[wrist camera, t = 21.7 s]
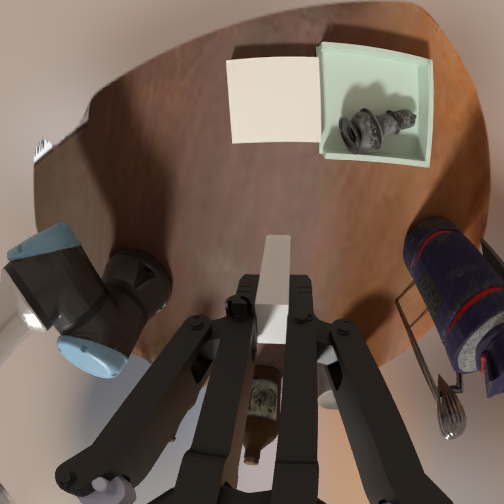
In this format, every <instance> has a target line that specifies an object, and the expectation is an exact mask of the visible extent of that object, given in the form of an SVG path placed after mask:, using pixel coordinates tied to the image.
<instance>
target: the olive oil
mask: <svg viewBox="0 0 504 504" xmlns="http://www.w3.org/2000/svg"><path fill="white" fill-rule="evenodd" d="M280 395H281V374H280V372H279V371H277V370H276V369H274V368H271V367H268V366H255V367H254V374H253V381H252V387H251V394H250V400H249V406H248V413H247V419H246V425H245V431H244V437H243V443H242V444H243V446H244V447H245V455H244V458H245V460H244V463H245V464H248V465H258V463H259V461H258V460H259V459H260V451H261V450H262V449H263V448H264V447H265V446H267V445H268V444H270V443H271V442H272V441H273V440H274V439H275V438H276V437H277V435H278V432H279V423H280V398H281V396H280Z"/></svg>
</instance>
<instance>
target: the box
mask: <svg viewBox="0 0 504 504" xmlns="http://www.w3.org/2000/svg"><path fill="white" fill-rule="evenodd" d="M316 56H317V57H319V73H320V96H321V142H319V153H320V154H323V156H324V157H325V159H342V160H359V161H373V162H385V163H395V164H404V165H413V166H421V167H428V168H429V165H430V156H431V145H432V131H433V64H432V60H430V59H426V58H422V57H419V56H415V55H410V54H406V53H402V52H397V51H392V50H387V49H381V48H375V47H368V46H361V45H353V44H344V43H332V42H322V43H321V44H320V46H319V47H316ZM362 108H366V109H369V110H370V111H371V112H372V113H373V114H374V115H381V114H385V113H386V111H388V110H391V111H393V112H394V111H398V110H402V109H408V110H410V111H411V112H412V113H413V114H415V115H417V117H416V119H415V125H414V126H413V127H411V128H408V129H404V130H401V131H400V133H399V134H394V133H393V134H389V135H386V136H385V137H383V146H382V147H381V149H378V150H377V149H367V148H364V147H362V146H360V151H359V153H358V154H357V155H354V154H352V153H351V152H350V151H349V150H348V148H347V147H346V145H345V143H344V141H343V139H342V136H341V134H340V130H339V118H340V117H346V118H347V119H348V120H350V121H351V119H352V117H353V116H354V115H355V114H356V113H357V112H360V110H361V109H362Z"/></svg>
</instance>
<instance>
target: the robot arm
mask: <svg viewBox="0 0 504 504" xmlns="http://www.w3.org/2000/svg"><path fill="white" fill-rule="evenodd" d="M7 257H8V260H9V261H10V262H9V263H8V264H7V265H6V266H5V267H4V268H3V269H2V273H1V281H0V367H1V366H2V365H3V363H4V362H5V361H6V360H7V359H8V358H9V357H10V355H11V354H12V353H13V352H14V351H15V350H16V349H17V348H18V346H19V345H20V344H21V343H22V342H23V341H24V340H25V339H26V338H27V337H28V336H29V335H30V334H31V333H32V332H33V331H41V332H46V331H48V330H49V329H50V327H51V326H52V325H53V326H54V327H55V328H56V329H57V331H58V332H59V333H60V335H61V336H59V337H58V341H57V347H58V349H59V351H60V352H61V354H62V355H64V357H65V358H66V359H67V360H69V361H70V362H71V363H72V364H74V365H75V366H77V367H78V368H81V369H82V370H84V371H86V372H88V373H90V374H92V375H95V376H98V377H102V378H113V377H116V376H117V375H118V374H119V373H120V371H121V370H122V368H123V366H124V365H125V363H127V362H128V358H129V356H130V354H131V352H132V350H133V348H134V346H135V344H136V342H137V340H138V338H139V336H140V334H141V332H142V330H143V328H144V327H145V325H146V323H147V321H148V320H150V319H151V318H152V317H153V316H154V315H155V314H156V313H158V312H159V311H161V310H162V309H163V308H164V307H165V306H166V304H167V302H168V301H169V299H170V297H171V293H172V286H171V282H170V279H169V277H168V275H167V273H166V271H165V270H164V268H163V267H162V266H161V265H160V264H159V263H158V262H157V261H156V260H155V259H153V258H152V257H150V256H149V255H147V254H145V253H143V252H140V251H137V250H132V249H125V250H121V251H119V252H117V253H116V254H114V255H113V257H112V258H111V259H110V260H109V261H108V263H107V264H106V267H105V271H104V274H103V276H102V279H101V278H100V276H99V275H98V273H97V272H96V270H95V268H94V267H93V265H92V263H91V262H90V260H89V258H88V257H87V255H86V253H85V251H84V249H83V248H82V246H81V242H79V241H78V239H77V238H76V236H75V234H74V233H73V231H72V229H71V228H70V226H69V225H67V224H66V223H57V224H55V225H53V226H51V227H49V228H47V229H45V230H43V231H41V232H39V233H38V234H36V235H34V236H32V237H30V238H29V239H27V240H25V241H23V242H22V243H20V244H19V245H17V246H15V247H14V248H12V249H11V250H9V251H8V252H7ZM225 308H226V314H227V316H226V317H224V318H221V319H217V320H211V321H210V320H209V318H208V317H206V316H204V315H194V316H191V317H189V318H188V319H187V320H186V321H185V322H184V323H183V324H182V326H181V327H180V328H179V330H178V331H177V332H176V334H175V335H174V336H173V337H172V339H171V340H170V341H169V343H168V344H167V345H166V347H165V348H164V349H163V351H162V352H161V353H160V354H159V356H158V357H157V358H156V360H155V361H154V362H153V364H152V365H151V367H150V368H149V369H148V370H147V372H146V373H145V374H144V376H143V377H142V378H141V380H140V381H139V382H138V384H137V385H136V386H135V388H134V389H133V390H132V392H131V393H130V394H129V396H128V397H127V398H126V399H125V401H124V402H123V404H122V405H121V406H120V408H119V409H118V410H117V412H116V413H115V414H114V416H113V417H112V418H111V420H110V421H109V422H108V424H107V425H106V426H105V428H104V429H103V431H102V432H101V433H100V435H99V436H98V437H97V438H96V440H95V441H94V443H93V444H92V445H91V446H89V447H88V448H86V449H85V450H83V451H81V452H80V453H78V454H77V455H75V456H73V457H72V458H70V459H69V460H67V461H65V462H64V463H62V464H61V465H60V466H59V467H58V468H57V469H56V472H55V479H56V482H57V484H58V486H59V487H60V488H61V489H62V490H64V491H66V492H68V493H70V494H73V495H75V496H77V497H78V499H79V500H80V502H81V503H82V504H133V503H134V501H135V500H136V493H135V490H134V488H135V487H136V486H137V485H139V483H140V482H141V481H142V480H143V479H144V478H145V477H146V476H147V474H148V473H149V472H150V470H151V469H152V467H153V465H154V464H155V462H156V461H157V459H158V458H159V456H160V454H161V453H162V451H163V450H164V448H165V447H166V445H167V444H168V442H169V440H170V439H171V437H172V436H173V434H174V432H175V431H176V429H177V427H178V426H179V424H180V423H181V421H182V419H183V417H184V416H185V414H186V413H187V411H188V410H189V408H190V406H191V405H192V403H193V401H194V400H195V398H196V396H197V395H198V393H199V391H200V390H201V388H202V386H203V385H204V383H205V381H206V380H207V378H208V376H209V375H210V373H211V375H210V378H209V382H208V386H207V390H206V393H205V397H204V401H203V404H202V408H201V412H200V416H199V419H198V423H197V427H196V431H195V434H194V438H193V442H192V445H191V448H190V449H189V450H188V451H186V453H185V454H184V456H183V459H182V463H181V466H180V470H179V473H178V477H177V481H176V485H175V487H173V488H171V489H170V490H168V491H166V492H165V493H163V494H162V495H160V496H159V497H157V498H155V499H154V500H152V501H151V502H149V503H147V504H326V503H325V502H323V501H322V500H320V499H319V498H317V496H318V478H319V465H318V461H317V440H318V377H317V362H319V363H322V364H323V366H324V368H325V371H326V374H327V377H328V380H329V383H330V386H331V389H332V391H333V394H334V397H335V400H336V403H337V406H338V409H339V412H340V415H341V418H342V421H343V424H344V427H345V430H346V433H347V436H348V439H349V442H350V445H351V449H352V451H353V455H354V458H355V461H356V465H357V467H358V471H359V474H360V478H361V481H362V484H363V487H364V490H365V493H366V495H367V498H368V500H369V502H370V504H453V502H452V501H451V500H450V499H449V498H448V497H447V496H446V495H445V494H444V493H443V492H442V491H441V490H440V489H439V487H437V485H436V484H435V483H433V481H432V480H431V479H430V478H429V477H428V476H427V475H426V474H425V473H424V471H423V468H422V466H421V463H420V460H419V458H418V455H417V453H416V451H415V448H414V446H413V443H412V441H411V439H410V436H409V434H408V432H407V429H406V427H405V424H404V422H403V420H402V417H401V415H400V413H399V411H398V409H397V406H396V404H395V402H394V400H393V398H392V395H391V393H390V391H389V389H388V387H387V385H386V383H385V381H384V379H383V376H382V375H381V372H380V370H379V368H378V366H377V364H376V362H375V360H374V358H373V356H372V354H371V352H370V350H369V348H368V346H367V344H366V342H365V340H364V338H363V336H362V334H361V333H360V331H359V329H358V327H357V325H356V324H355V323H354V322H352V321H350V320H347V319H339V320H336V321H334V322H333V323H332V324H330V323H326V322H323V321H321V320H319V319H318V318H317V317H316V316H315V315H314V312H313V298H312V284H311V280H310V278H309V277H308V275H290V235H267V237H266V243H265V249H264V255H263V260H262V266H261V272H260V275H253V274H245V275H244V276H243V277H242V278H241V279H240V281H239V285H238V289H237V292H236V295H233V296H230V297H229V298H228V299H227V300H226V301H225ZM257 340H258V343H273V344H286V345H285V360H284V375H283V388H282V401H281V412H280V423H279V433H278V443H277V453H276V461H275V469H274V476H273V484H272V490H269V491H262V492H254V493H245V492H242V491H239V490H237V489H236V488H237V482H238V466H239V461H240V455H241V448H242V443H243V437H244V431H245V425H246V419H247V413H248V406H249V400H250V394H251V387H252V381H253V374H254V367H255V361H256V354H257V346H256V344H257ZM0 504H15V503H14V501H13V499H12V497H11V496H10V495H9V493H8V492H7V491H6V490H5V488H4V487H3V486H2V485H1V483H0Z"/></svg>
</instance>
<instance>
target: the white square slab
mask: <svg viewBox="0 0 504 504" xmlns="http://www.w3.org/2000/svg"><path fill="white" fill-rule="evenodd" d="M226 65H227V79H228V92H229V105H230V118H231V131H232V143H252V142H321V96H320V73H319V57H262V58H247V59H236V60H226Z"/></svg>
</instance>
